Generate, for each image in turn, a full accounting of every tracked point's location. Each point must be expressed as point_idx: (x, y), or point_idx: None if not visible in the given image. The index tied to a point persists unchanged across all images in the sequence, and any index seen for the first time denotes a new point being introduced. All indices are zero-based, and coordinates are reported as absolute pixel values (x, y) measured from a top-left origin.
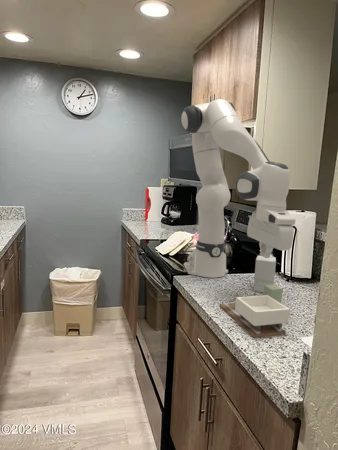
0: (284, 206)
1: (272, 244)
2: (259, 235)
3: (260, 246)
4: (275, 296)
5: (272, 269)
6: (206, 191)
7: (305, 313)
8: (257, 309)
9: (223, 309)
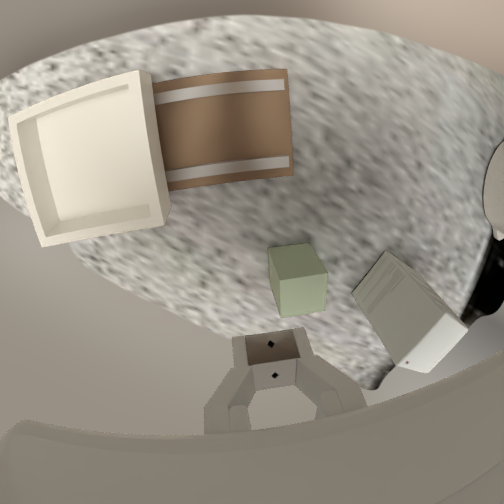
0: None
1: (91, 450)
2: (374, 463)
3: (330, 378)
4: (274, 281)
5: (389, 339)
6: None
7: (208, 319)
8: (119, 154)
9: (251, 70)
